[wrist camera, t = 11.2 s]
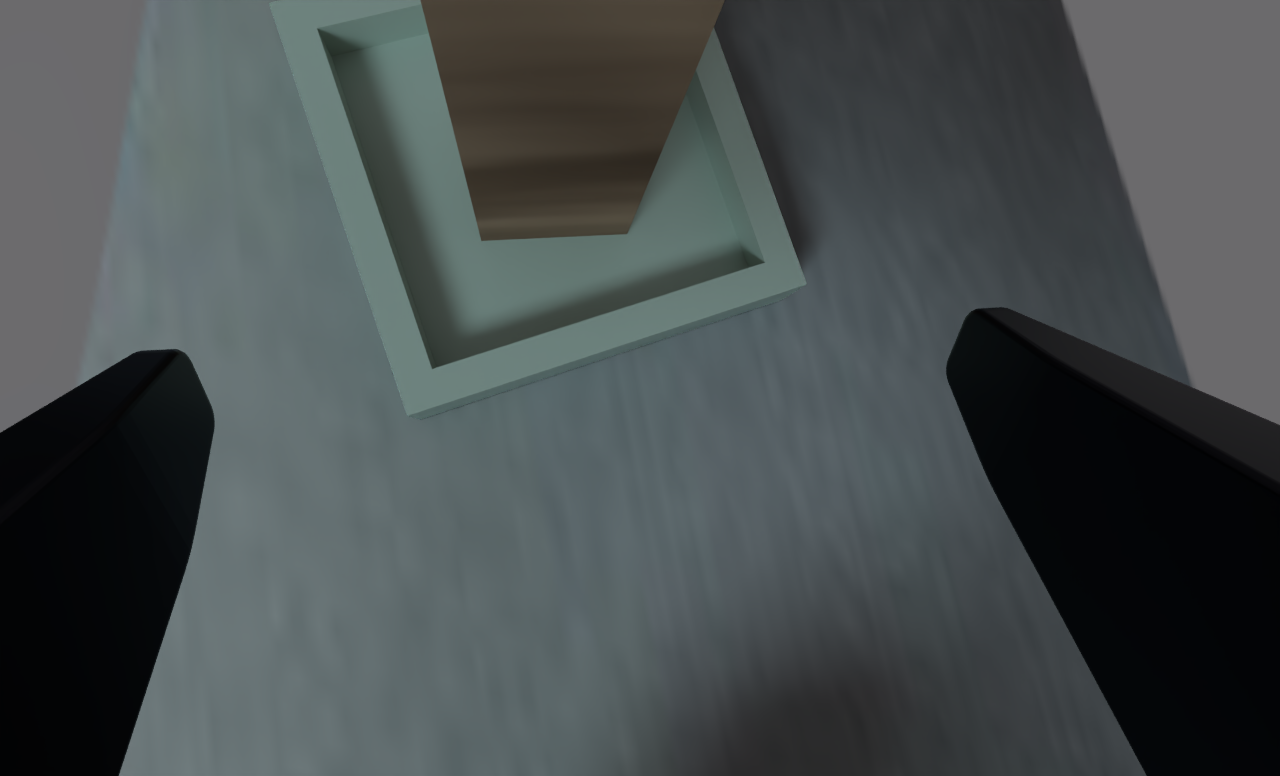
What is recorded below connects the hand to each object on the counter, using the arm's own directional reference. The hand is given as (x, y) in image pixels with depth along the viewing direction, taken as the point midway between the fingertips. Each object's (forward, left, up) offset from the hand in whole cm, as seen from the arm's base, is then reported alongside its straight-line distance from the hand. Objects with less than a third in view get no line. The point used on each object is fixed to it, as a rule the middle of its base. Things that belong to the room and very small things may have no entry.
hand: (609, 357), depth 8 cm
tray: (+2, +7, -14) cm, 16 cm away
